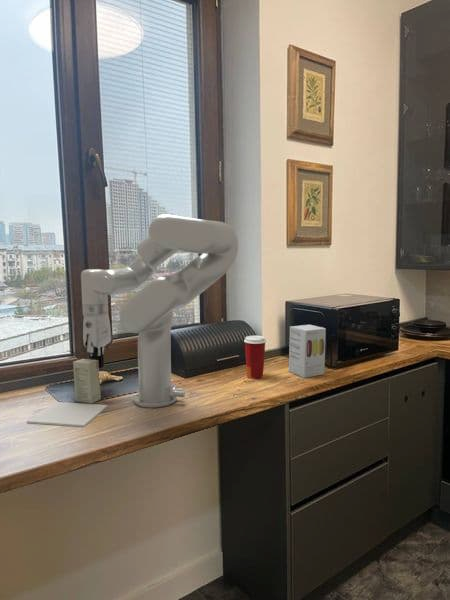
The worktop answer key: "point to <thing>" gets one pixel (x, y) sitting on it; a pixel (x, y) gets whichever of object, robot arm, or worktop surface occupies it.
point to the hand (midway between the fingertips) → (98, 367)
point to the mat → (68, 414)
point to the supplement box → (307, 350)
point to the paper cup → (255, 356)
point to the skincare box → (87, 380)
